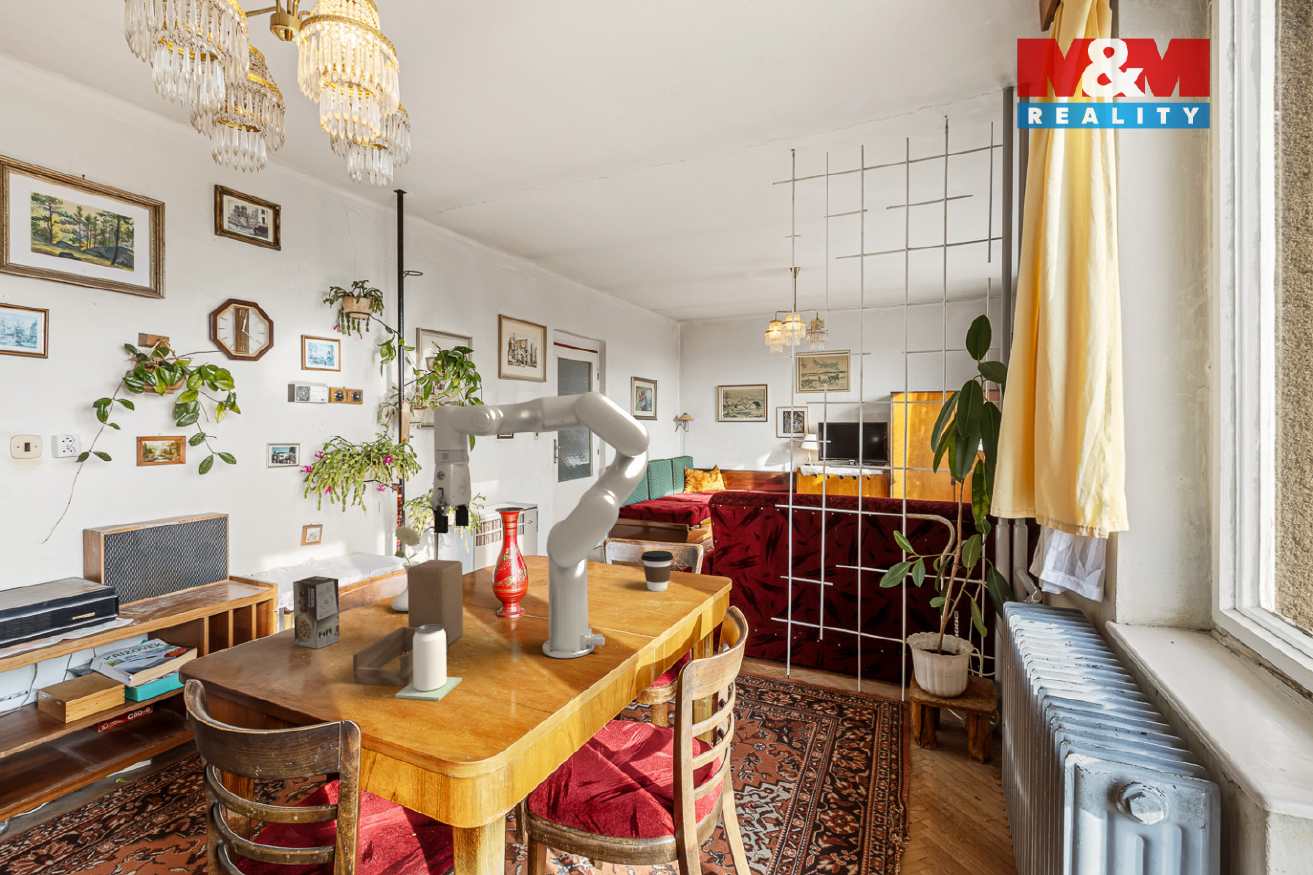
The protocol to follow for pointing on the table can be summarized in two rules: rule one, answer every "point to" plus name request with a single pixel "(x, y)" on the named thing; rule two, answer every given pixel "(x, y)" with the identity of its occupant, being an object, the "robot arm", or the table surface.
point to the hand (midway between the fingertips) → (452, 529)
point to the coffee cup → (657, 569)
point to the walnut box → (387, 659)
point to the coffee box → (316, 611)
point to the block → (436, 596)
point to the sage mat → (434, 695)
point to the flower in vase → (411, 539)
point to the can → (429, 657)
